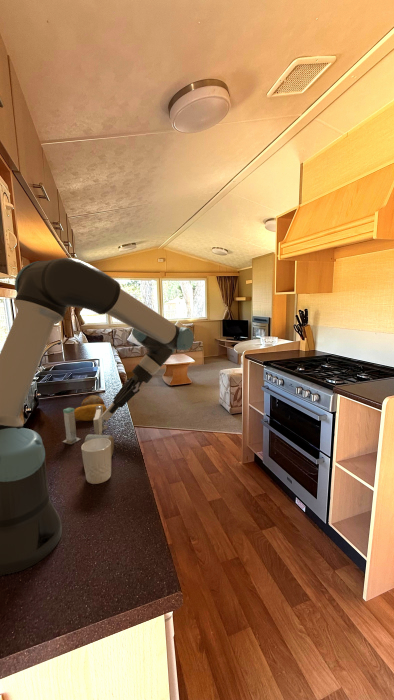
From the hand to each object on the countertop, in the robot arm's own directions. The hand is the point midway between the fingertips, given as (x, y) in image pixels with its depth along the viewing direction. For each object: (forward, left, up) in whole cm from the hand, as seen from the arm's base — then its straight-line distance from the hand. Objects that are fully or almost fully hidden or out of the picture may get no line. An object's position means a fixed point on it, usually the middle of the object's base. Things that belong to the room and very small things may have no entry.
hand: (104, 418), depth 111 cm
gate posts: (-7, +3, -6) cm, 10 cm away
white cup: (-5, -27, -7) cm, 29 cm away
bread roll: (-2, +32, -7) cm, 33 cm away
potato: (-4, +18, -7) cm, 19 cm away
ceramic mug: (-3, -15, -7) cm, 17 cm away
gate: (-2, -1, -6) cm, 6 cm away
